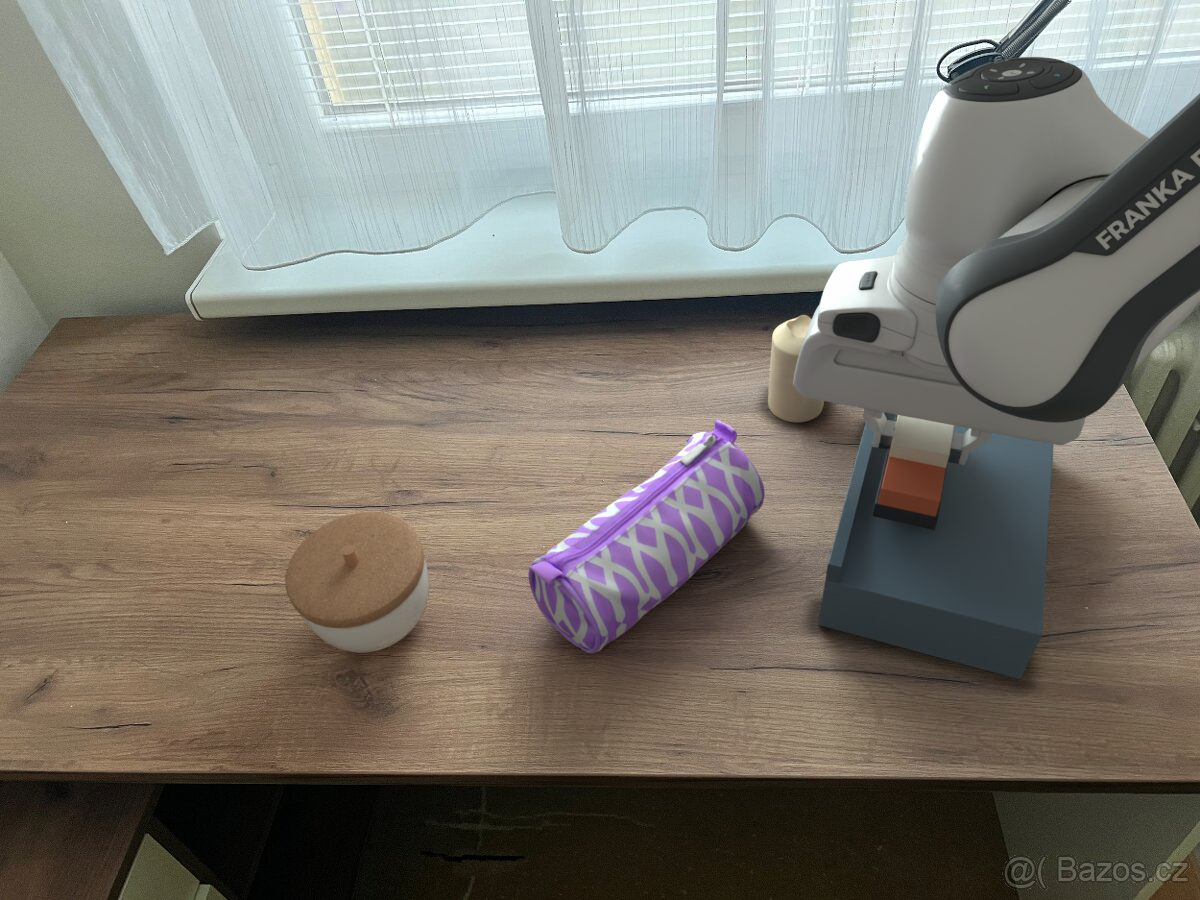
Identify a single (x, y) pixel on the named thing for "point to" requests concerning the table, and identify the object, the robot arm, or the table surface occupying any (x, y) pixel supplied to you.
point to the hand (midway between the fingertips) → (918, 450)
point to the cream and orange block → (914, 472)
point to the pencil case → (647, 541)
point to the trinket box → (360, 581)
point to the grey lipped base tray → (949, 559)
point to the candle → (789, 373)
